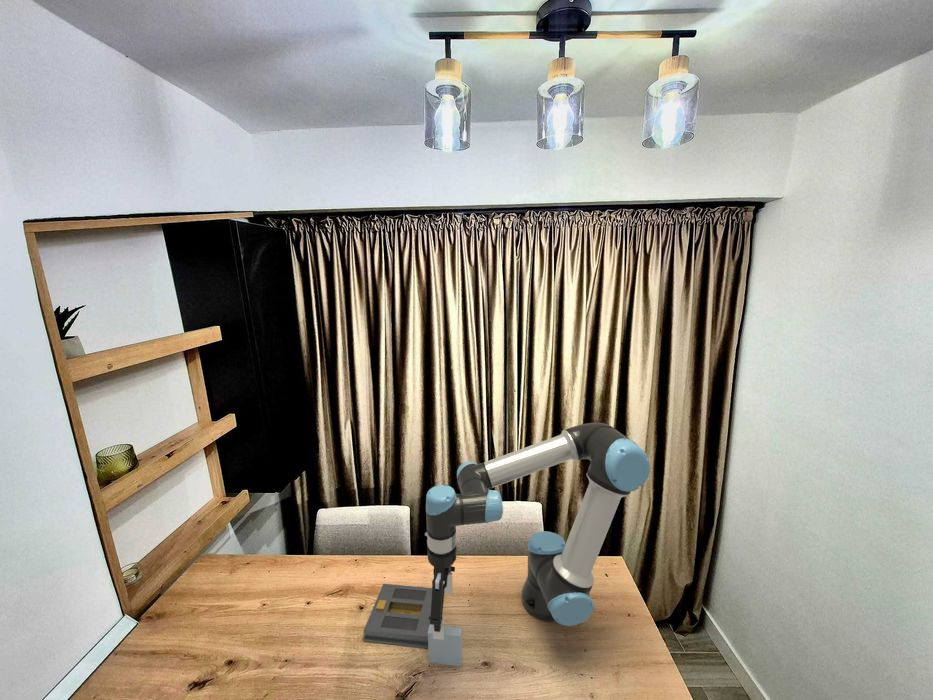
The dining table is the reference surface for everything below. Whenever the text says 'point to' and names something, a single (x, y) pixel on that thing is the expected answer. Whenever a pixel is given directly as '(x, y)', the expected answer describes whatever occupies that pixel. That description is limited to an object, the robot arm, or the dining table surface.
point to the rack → (400, 616)
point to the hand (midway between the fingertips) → (443, 613)
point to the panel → (446, 646)
